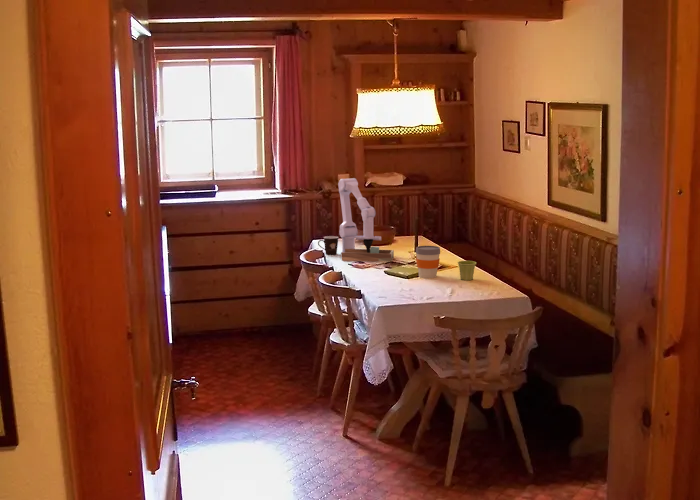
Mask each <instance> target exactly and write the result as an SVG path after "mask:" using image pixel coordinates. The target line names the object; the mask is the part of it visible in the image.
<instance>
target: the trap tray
mask: <svg viewBox="0 0 700 500" xmlns="http://www.w3.org/2000/svg"><path fill="white" fill-rule="evenodd" d="M341 252H342V251H341ZM394 254H395V251H394V249H379V253H370V252H369V253H367V249H366V248H355V249H345V252H342V254H341V261H344V262H345V261H346V262H350V261H351V262H352V261H353V262H375V261H391V262H392V261H393V260H394V257H395V256H394Z"/></svg>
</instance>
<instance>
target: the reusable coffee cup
mask: <svg viewBox="0 0 700 500" xmlns="http://www.w3.org/2000/svg"><path fill="white" fill-rule="evenodd" d="M415 254H416V257H415V258H416V259H415V260H416V261H415V262H416V268H417V271H418V277H419V278H420V279H421V278H423V279H434V278H437V273H438V268H439V267H440V266H439V265H440V260H441V259H440V255H441V248H440V246H436V245H418V246H416V248H415Z"/></svg>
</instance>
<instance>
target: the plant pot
mask: <svg viewBox="0 0 700 500" xmlns="http://www.w3.org/2000/svg"><path fill="white" fill-rule="evenodd" d="M457 264H458V267H459V268H458V269H459V276H460V280H462V281H463V280H464V281H471V280H473V279H474V275H475V274H474V273H475V272H474V271H475V267H476V266H477V262H476V261H473V260H461V261H459V260H458V261H457Z"/></svg>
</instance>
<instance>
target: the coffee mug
mask: <svg viewBox="0 0 700 500" xmlns="http://www.w3.org/2000/svg"><path fill="white" fill-rule="evenodd" d="M320 242H322V243H324V247H322V246H321V245H320ZM317 244H318V246H319V247H320V248H321V249H323V250H324V251H325V255H326V256H335V255H337V253H338V245H339V236H337V235H336V236H334V235H329V236H328V235H327V236H323V239H319V241H318V242H317Z"/></svg>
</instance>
